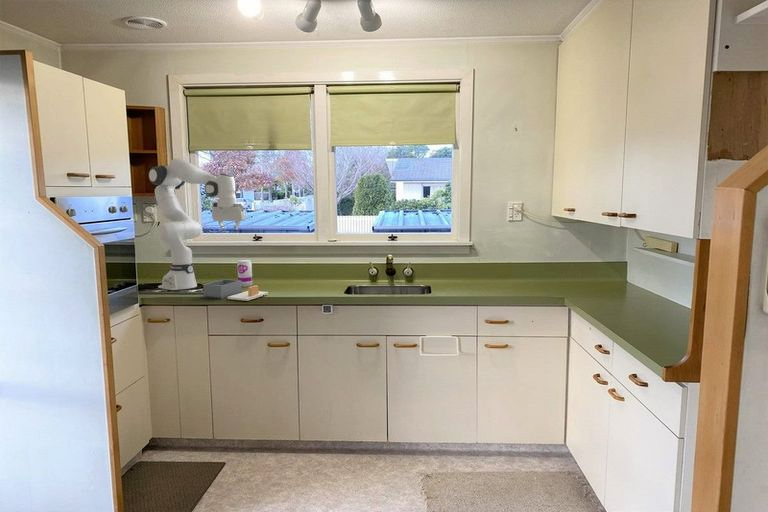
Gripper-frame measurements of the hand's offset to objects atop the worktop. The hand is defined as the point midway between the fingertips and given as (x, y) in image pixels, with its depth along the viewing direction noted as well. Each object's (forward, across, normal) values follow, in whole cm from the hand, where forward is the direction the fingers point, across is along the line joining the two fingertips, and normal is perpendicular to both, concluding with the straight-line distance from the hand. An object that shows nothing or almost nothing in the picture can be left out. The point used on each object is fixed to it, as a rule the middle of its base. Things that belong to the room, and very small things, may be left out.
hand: (229, 229), depth 271 cm
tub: (+35, 0, +8) cm, 36 cm away
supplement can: (+35, +6, -18) cm, 40 cm away
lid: (+34, -17, +8) cm, 39 cm away
